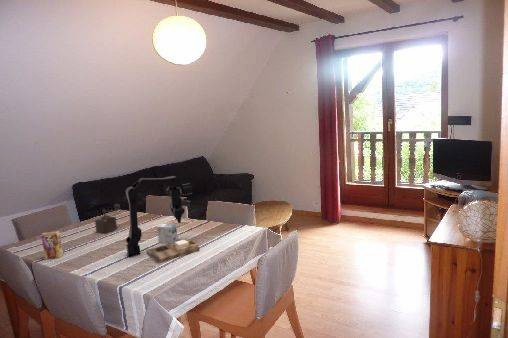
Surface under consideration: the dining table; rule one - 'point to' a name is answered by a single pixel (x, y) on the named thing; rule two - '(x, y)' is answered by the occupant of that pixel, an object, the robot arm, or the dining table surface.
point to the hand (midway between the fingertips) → (178, 221)
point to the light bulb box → (167, 233)
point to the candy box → (52, 245)
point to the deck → (167, 252)
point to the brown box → (106, 222)
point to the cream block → (181, 244)
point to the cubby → (188, 246)
